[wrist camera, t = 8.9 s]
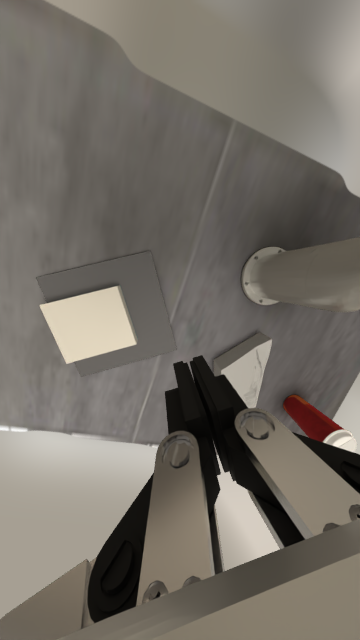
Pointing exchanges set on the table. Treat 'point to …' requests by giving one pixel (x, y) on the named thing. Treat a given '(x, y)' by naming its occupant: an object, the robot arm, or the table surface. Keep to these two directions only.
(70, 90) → the table surface
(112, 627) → the robot arm
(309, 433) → the paper cup
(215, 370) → the ramp
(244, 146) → the table surface
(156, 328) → the mat
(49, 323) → the tile
